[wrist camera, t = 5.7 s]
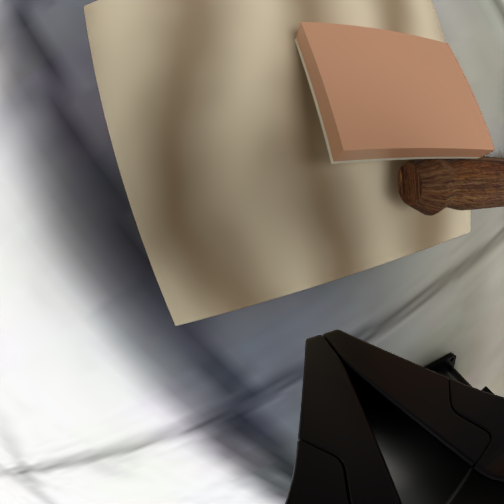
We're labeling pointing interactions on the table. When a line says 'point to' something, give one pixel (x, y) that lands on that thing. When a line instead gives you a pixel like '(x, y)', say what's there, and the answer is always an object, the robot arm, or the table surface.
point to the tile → (389, 95)
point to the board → (246, 149)
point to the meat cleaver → (451, 184)
